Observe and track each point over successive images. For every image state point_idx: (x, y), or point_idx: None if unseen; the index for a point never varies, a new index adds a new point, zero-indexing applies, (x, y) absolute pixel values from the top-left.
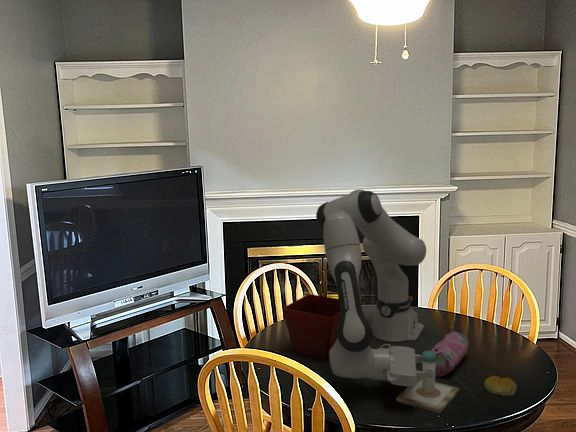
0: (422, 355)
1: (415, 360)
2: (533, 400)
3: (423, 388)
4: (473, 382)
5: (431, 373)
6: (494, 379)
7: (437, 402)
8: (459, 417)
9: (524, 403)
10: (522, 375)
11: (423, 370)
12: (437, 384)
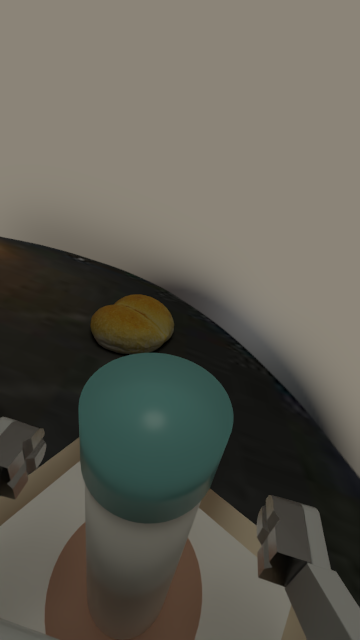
0: (137, 491)
1: (44, 634)
2: (192, 310)
3: (140, 624)
4: (65, 361)
5: (314, 520)
6: (131, 315)
7: (254, 567)
8: (328, 502)
9: (206, 325)
10: (76, 282)
11: (151, 567)
12: (51, 487)
